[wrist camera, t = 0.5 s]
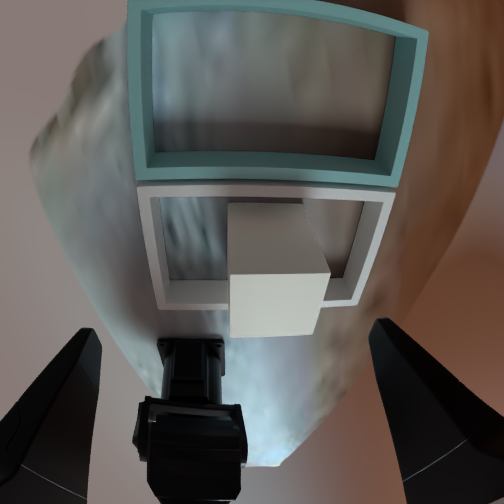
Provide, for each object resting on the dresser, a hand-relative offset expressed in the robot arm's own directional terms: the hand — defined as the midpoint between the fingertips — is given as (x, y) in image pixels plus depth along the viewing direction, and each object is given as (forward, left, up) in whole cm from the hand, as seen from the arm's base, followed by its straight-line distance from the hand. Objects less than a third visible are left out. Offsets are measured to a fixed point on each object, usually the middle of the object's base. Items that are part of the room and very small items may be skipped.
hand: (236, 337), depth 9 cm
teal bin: (+6, -3, -12) cm, 14 cm away
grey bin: (-5, -3, -12) cm, 14 cm away
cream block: (-5, -3, -13) cm, 14 cm away
